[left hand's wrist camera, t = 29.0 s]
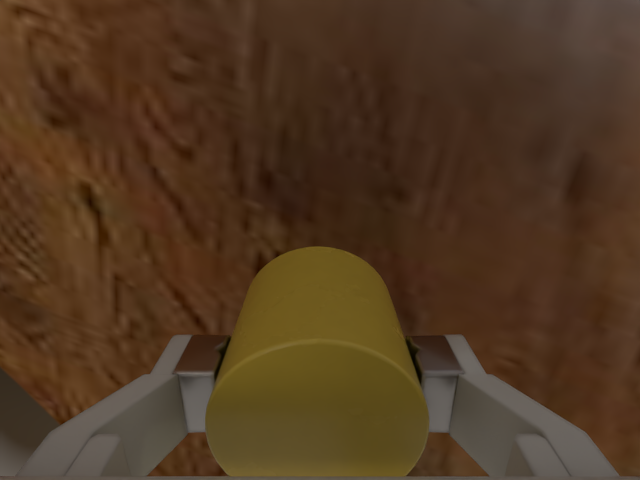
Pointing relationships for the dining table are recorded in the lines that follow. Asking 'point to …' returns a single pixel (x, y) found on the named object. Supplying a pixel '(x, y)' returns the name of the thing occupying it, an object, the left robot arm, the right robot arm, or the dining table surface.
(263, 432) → the canister
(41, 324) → the dining table surface
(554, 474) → the left robot arm
